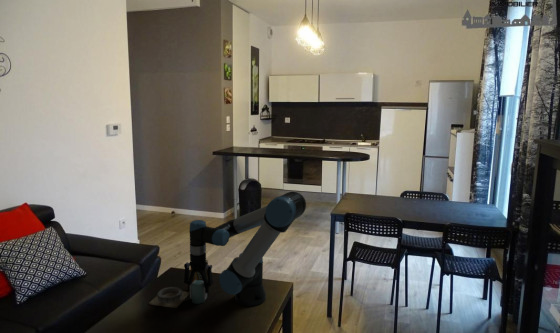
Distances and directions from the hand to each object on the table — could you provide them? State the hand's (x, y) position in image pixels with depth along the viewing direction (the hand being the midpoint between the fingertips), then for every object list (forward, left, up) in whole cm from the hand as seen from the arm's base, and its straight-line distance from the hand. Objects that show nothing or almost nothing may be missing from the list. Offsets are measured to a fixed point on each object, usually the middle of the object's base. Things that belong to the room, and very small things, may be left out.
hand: (198, 297), depth 183 cm
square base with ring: (+14, +2, -1) cm, 14 cm away
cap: (0, 0, -1) cm, 1 cm away
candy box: (+4, -10, -2) cm, 11 cm away
